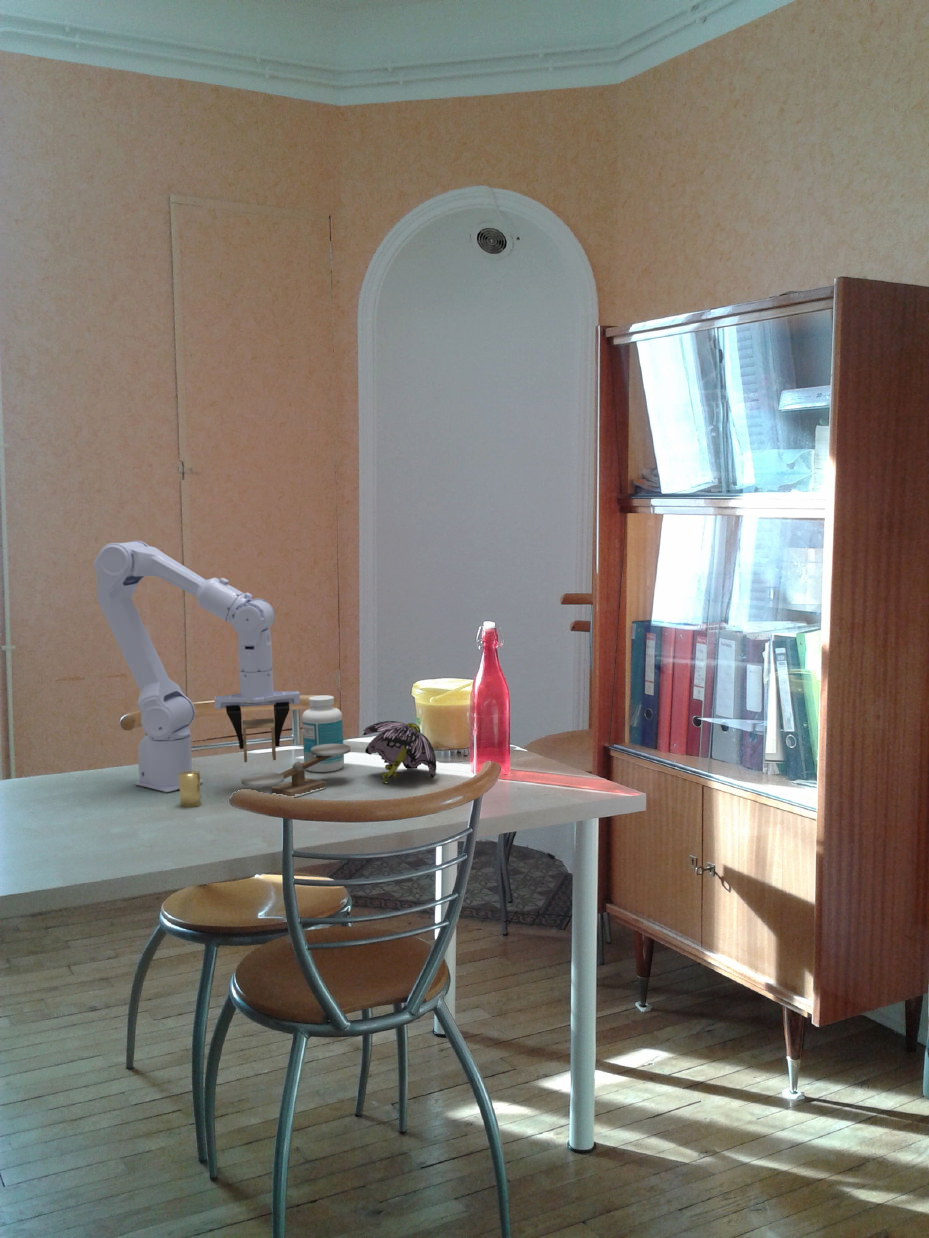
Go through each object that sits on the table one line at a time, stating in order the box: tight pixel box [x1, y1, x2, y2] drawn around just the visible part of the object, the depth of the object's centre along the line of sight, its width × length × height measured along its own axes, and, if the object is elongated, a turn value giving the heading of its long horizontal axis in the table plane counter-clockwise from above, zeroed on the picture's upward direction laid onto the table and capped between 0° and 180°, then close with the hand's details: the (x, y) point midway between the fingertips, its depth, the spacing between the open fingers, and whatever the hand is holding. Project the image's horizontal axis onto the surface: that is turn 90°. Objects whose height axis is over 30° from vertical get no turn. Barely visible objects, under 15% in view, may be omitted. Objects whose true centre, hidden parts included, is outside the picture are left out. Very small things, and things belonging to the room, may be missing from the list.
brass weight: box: [178, 770, 202, 809], centre depth 186 cm, size 3×3×5 cm
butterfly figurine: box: [362, 720, 437, 783], centre depth 200 cm, size 15×12×15 cm
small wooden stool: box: [242, 717, 277, 763], centre depth 195 cm, size 5×5×6 cm
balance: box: [240, 743, 351, 796], centre depth 193 cm, size 7×23×6 cm, turn 142°
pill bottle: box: [301, 695, 345, 773], centre depth 208 cm, size 8×7×14 cm
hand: (259, 746), depth 195 cm, fingers closed on small wooden stool, 5 cm apart
